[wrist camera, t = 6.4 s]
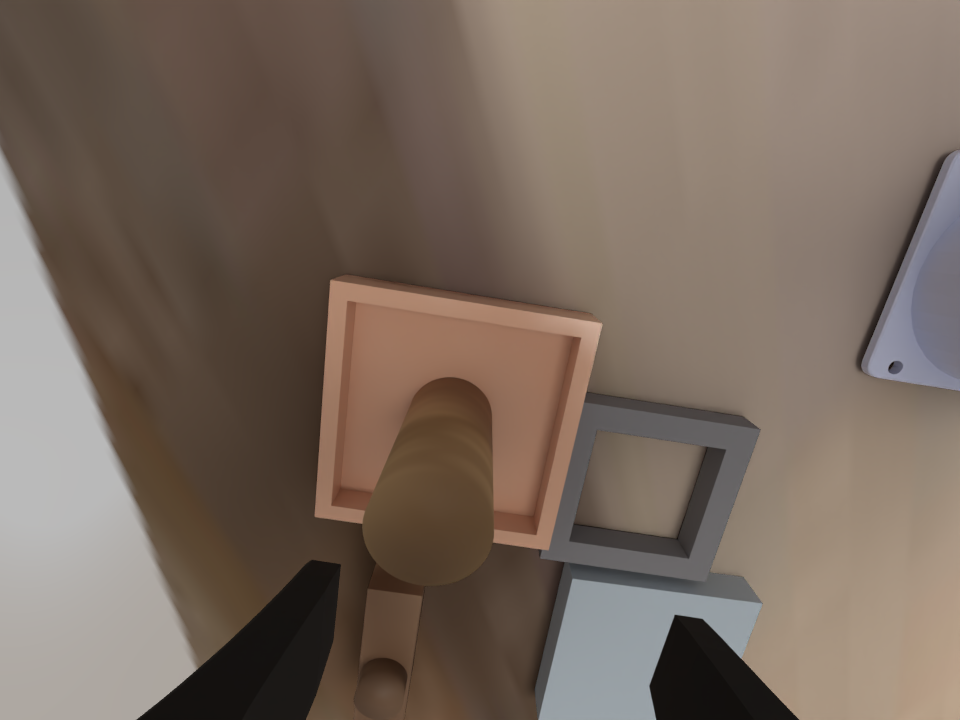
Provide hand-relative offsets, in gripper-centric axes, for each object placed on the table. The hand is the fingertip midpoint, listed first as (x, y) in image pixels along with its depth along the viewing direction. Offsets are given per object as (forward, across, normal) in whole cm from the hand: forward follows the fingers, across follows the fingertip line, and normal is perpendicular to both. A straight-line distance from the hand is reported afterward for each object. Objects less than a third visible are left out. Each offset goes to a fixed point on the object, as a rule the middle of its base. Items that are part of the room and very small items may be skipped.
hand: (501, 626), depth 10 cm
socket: (+9, -6, +1) cm, 11 cm away
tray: (+9, +2, -1) cm, 10 cm away
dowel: (+9, +2, -1) cm, 9 cm away
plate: (+10, -8, +9) cm, 16 cm away
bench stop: (+9, +3, +9) cm, 13 cm away
